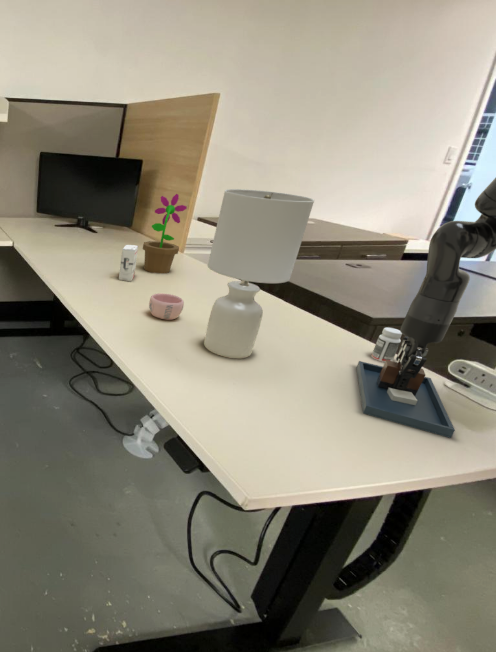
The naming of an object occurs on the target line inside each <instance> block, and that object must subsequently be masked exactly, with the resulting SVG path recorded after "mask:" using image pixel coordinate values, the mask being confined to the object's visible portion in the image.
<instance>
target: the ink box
mask: <svg viewBox="0 0 496 652" xmlns="http://www.w3.org/2000/svg"><path fill="white" fill-rule="evenodd" d="M138 250H139V246H138V245H134V244H125V245H124V247H123V248H122V249H121V257H120V264H119V273H118V280H119V281H125V282H130V283H131V282H132V280H133V279H134V277H135V275H136V266H137V258H138Z"/></svg>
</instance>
